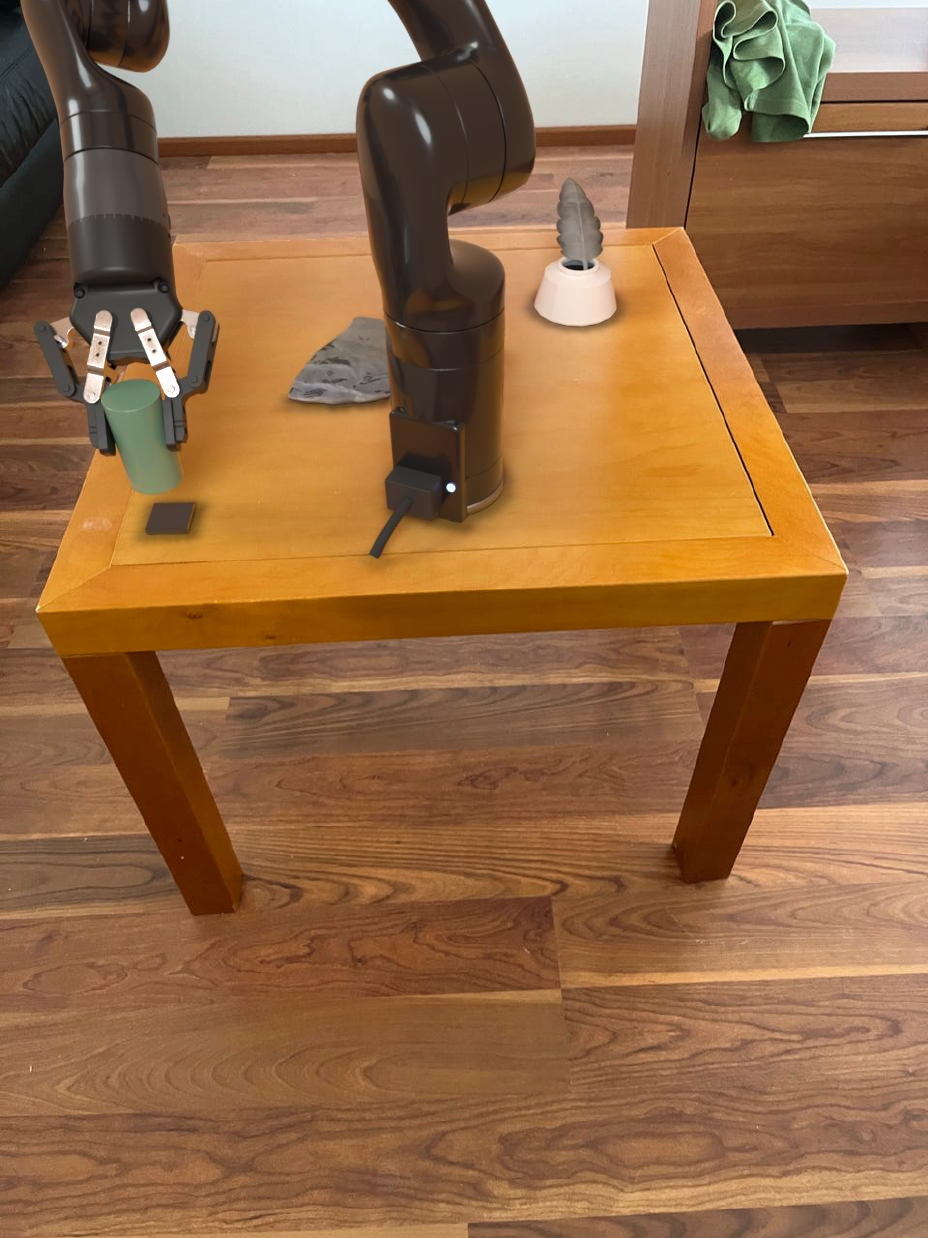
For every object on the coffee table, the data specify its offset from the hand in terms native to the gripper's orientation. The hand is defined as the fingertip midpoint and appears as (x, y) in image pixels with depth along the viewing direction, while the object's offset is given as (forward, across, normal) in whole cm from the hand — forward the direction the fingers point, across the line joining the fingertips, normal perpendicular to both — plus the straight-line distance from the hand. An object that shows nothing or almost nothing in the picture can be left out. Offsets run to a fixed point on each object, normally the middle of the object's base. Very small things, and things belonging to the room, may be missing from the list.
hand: (141, 451), depth 72 cm
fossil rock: (-9, +21, +21) cm, 31 cm away
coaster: (+5, 0, +7) cm, 9 cm away
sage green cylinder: (+2, 0, +4) cm, 4 cm away
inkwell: (-20, +41, +32) cm, 56 cm away
